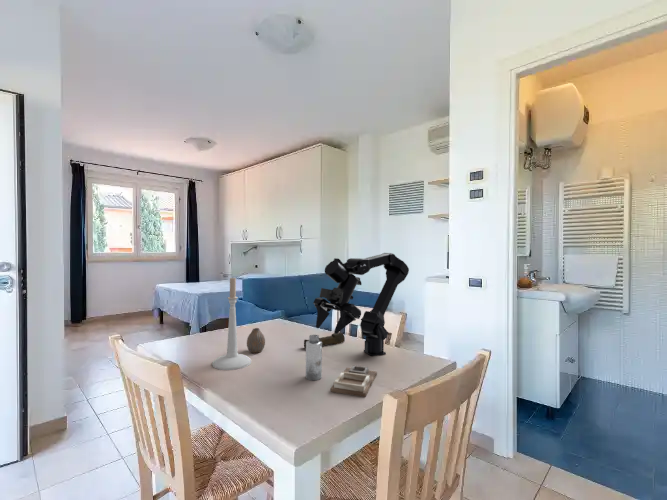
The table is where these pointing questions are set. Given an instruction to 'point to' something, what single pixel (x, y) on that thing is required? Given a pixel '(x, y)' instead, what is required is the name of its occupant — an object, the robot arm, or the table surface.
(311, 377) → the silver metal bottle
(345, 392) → the socket board
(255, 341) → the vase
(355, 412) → the table surface
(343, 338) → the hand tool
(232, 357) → the candlestick
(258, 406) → the table surface
